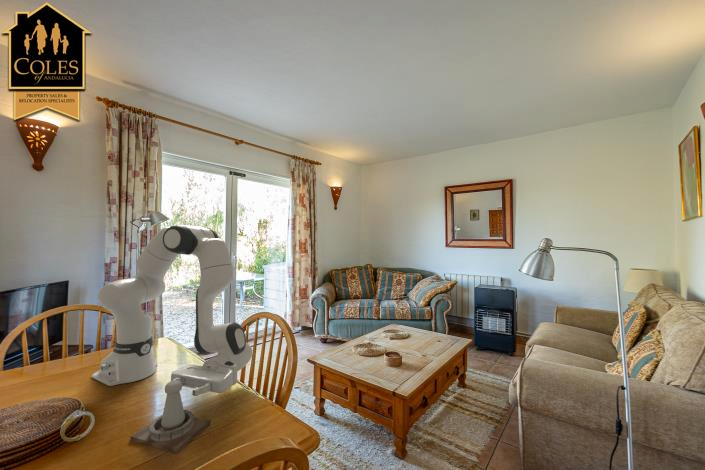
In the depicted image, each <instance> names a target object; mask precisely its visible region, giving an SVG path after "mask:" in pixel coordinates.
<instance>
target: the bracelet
mask: <svg viewBox="0 0 705 470" xmlns="http://www.w3.org/2000/svg"><path fill="white" fill-rule="evenodd" d="M81 416H87V417H89V420H90V423H89V426H88V428H86V430H85V431H84V432H83V433H81V434H77V435H76V436H74V437H67V436H66V430H67V429H68V427H69V426H70V425H71V424H72V423H73V422H74V421H76V419H78V418H79V417H81ZM95 421H96V419H95V416H94V414H93V413H92V412H90V411H86V410H85V408H83V409H82V410H79V409H77V410H75V411H73V412H72V413H71V414H69V415H68V416H67V417H66V418H65V419H64V421H63V423H62V424H61V427H60V432H59V433H60V436H61V437H60V438H61V439H62V440H63V441H65V442H68V443H71V442H75V441H76V442H77V441H80V440H81V439H82V438H85V436H86V435H88V434H90V432H91V430H92V429H93V428H94V426H95Z"/></svg>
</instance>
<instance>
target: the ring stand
mask: <svg viewBox="0 0 705 470" xmlns="http://www.w3.org/2000/svg"><path fill="white" fill-rule="evenodd" d="M184 413H185V419H184V422H183V424H182V426H181V427H179V428H176V429H174V430H171V431H165V430H164V429H163V427H162V425H161V421H162V416H163V414H162V415H160V416H159V417H157V418H155V419H154V420H152V422H150V423H148V424H146V425H145V426H144V427H143V428H141V429H139V430H138V431H136V432H134V433H133V434H131V435H130V440H129V441H130V442H134V443H138V444H141V445H144V446H148V447H152V448H156V449H159V450H162V451H167V452H169V453H173V454H177V453H179V452H180V451H181V450H182V449H184V447H186V446H188V444H190V443H191V442H192V441H193V440H195V439H196V438H197V437H199V435H201V434H202V433H203V432H204V431H205V430H206V429H207V428H209V427H210V426H211V425H212V420H210V419H205V418H201V417H197V416H195V415H194V413H193V412H192V411H191V410H187V409H184Z"/></svg>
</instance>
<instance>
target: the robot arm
mask: <svg viewBox="0 0 705 470" xmlns="http://www.w3.org/2000/svg"><path fill="white" fill-rule="evenodd" d="M179 255H187V256H189V255H194V256H196V257H197V260H198V264H199V269H200V271H199V272H200V280H199V284H198V285H199V286H198V287H197V288H196V292H195V332H194V338H193V344H194V348H195V349H196V351H197V352H198V354H200V355H202V356H208V355H212V354H215V353H217V355H215V356H213V357H210V358H209V359H207V360H205V361H204V363H203V364H202V365H195V364H188V365H185V366H183V367H180V368H177V369H175V370H174V371H172V373H171V375H170V382H171V381H175V380H179V381H181V382H182V387H185V388H191V389H193V390H192V396H193V397H199V396H200V395H203V394H207V393H209V392H211V393H216V394H222V393H225V392H227V390H228V391H229V390H230V388H232V387H233V386H235V385H236V384H237V383H238V372H239V371H240V370H242V369H243V368H244V367H246V365H248V364H249V362H250V361H251V359H252V357H253V349H252V346H251V345H250V343H248V342H247V340H246V339H247V338H246V333H245V330H244V328H243V326H241V324H239V323H238V322H236V321H234V322H232V321H231V322H228V323H223V324H216V325H215V324H214V307H213V306H214V305H213V304H214V301H215V299H216V298H217V296H219V294H221V293H222V292H224V291H225V290H226V289H227V288H228V287H229V286H230V285H231V284H232V282H233V281H234V269H233V265H232V263H233V262H232V258H231V254H230V251H229V247H228V246H227V243H226V242H225V241H224V240H223V239H220V238H219V235H218V233H217V232H216V231H215V230H213V229H212V228H209V227H203V226H199V225H185V224H175V225H172V226H165V227H163V228H161V229H160V230H159V231H158V232H156V234H155V235H154V236H153V237H152V238H151V239H150V241H149V242H148V243H147V245H146V246H145V247H144V249H143V250H142V252H141V253H140V255H139V256H138V257H137V259H136V261H135V267H136V268H137V270H138V271H137V273H136V274H135V275H133V277H128V278H124V279H117V280H114V281H112V282H109V283H106V284H104V285H103V286H102V287H101V288H100V290H99V291H98V295H97V297H98V298H97V299H98V302H99V304H100V306H101V307H102V308H104V309H105V310H107V311H109V312H110V313H111V314H112V316H113V318H114V320H115V325H116V341H115V342H112V343H111V344H112V345H111V346H112V347H113V346H114V347H113V350H112V352H110V353H109V354H108V355H107V356H106V357H104V358H103V359H102V360H100V364H99V366H100V367H99V370H97V371H96V372H94V373H92V374H91V379H94V380H96V381H98V382H100V383H101V384H104V385H106V386H109V387H113V386H118V385H121V384H128V383H133V382H136V381H140V380H141V381H142V380H144V379H146V378H148V377H150V376H152V375H153V374H154V373H156V371H157V366H158V362H156V359H155V358H156V357H155V348H154V347H153V343H154V339H153V336H152V317H150V315H149V314H146V313H144V311H143V308H142V304H144V303H147V302H151V301H153V300H156V298H158V297H160V296H161V295H162V294H164V292H165V290H166V283H165V280H164V278H165V276H166V274H167V272H168V270H169V269H170V267H172V265H173V263H174V262H175V260H176V259H177V257H178V256H179Z"/></svg>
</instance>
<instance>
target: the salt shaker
mask: <svg viewBox="0 0 705 470" xmlns="http://www.w3.org/2000/svg"><path fill="white" fill-rule="evenodd" d="M182 389H183V386H182V382H181V381H179V380H175V381H171V380H170V381H169V382H168V383H166V385H165V386H164V392H165V394H166V398H165V401H164V402H165V403H164V407H163V411H162V415H163V416H162V415H161V416H162V421H161V425H162V427H163V429H164V430H165V431H171V430H174V429H176V428H179V427H181V426H182V424H183V422H184V419H185V413H184V410H185V409H184V406H183V405H184V404H183V401H182V397H181V396H182V395H181V393H180V391H182Z"/></svg>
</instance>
